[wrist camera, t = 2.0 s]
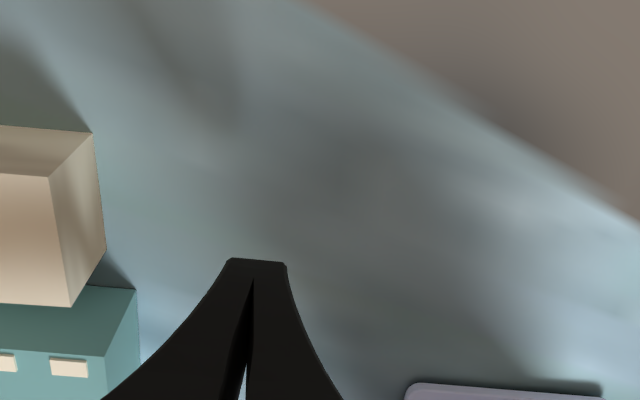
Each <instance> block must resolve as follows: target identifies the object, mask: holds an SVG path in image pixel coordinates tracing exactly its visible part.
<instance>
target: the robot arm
mask: <svg viewBox="0 0 640 400" xmlns="http://www.w3.org/2000/svg"><path fill="white" fill-rule="evenodd" d="M246 364H247V371H246V400H343V398H342V397H341V395H340V393H339V392H338V390H337V389H336V387H335V386H334V384H333V382H332V381H331V379H330V377H329V376H328V374H327V372H326V371H325V369H324V367H323V365H322V363H321V362H320V360H319V358H318V356H317V354H316V352H315V350H314V348H313V346H312V344H311V341H310V339H309V337H308V335H307V333H306V330H305V328H304V326H303V323H302V321H301V318H300V315H299V313H298V310H297V308H296V305H295V302H294V299H293V295H292V292H291V288H290V284H289V280H288V274H287V266H286V265H285V264H284V263H283V262H275V261H264V260H254V259H243V258H233V257H232V258H230V259H229V260H227V261H226V263H225V265H224V267H223V269H222V271H221V272H220V274H219V276H218V277H217V279H216V280H215V282H214V283H213V285H212V286H211V288H210V289H209V290H208V292H207V293H206V294H205V296H204V297H203V298H202V300H201V301H200V302H199V304H198V305H197V306H196V307H195V309H194V310H193V311H192V312H191V314H190V315H189V316H188V317H187V318H186V320H185V321H184V322H183V323H182V324H181V325H180V326H179V327H178V329H177V330H176V331H175V332H174V333H173V334H172V335H171V336H170V338H169V339H168V340H167V341H166V342H165V343H164V344H163V345H162V346H161V347H160V348H159V349H158V350H157V351H156V352H155V353H154V354H153V355H152V356H151V357H150V358H149V359H147V360H146V361H145V362H144V363H143V364H142V365H141V366H140V367H139V368H138V369H137V370H135V371H134V372H133V373H132V374H131V375H130V376H128V377H127V378H126V379H125V380H124V381H122V382H121V383H120V384H119V385H118V386H117V387H115V388H114V389H113V390H112V391H110V392H109V393H108V394H107V395H105V396H104V397H103V398H101V399H100V400H238V397H239V393H240V389H241V385H242V381H243V376H244V372H245V368H246ZM404 400H605V399H604V398H600V397H590V396H578V395H565V394H553V393H541V392H529V391H517V390H505V389H492V388H480V387H468V386H456V385H444V384H432V383H416V384H413V385H411V386H410V387H409V388H408V389H407V391H406V394H405V398H404Z"/></svg>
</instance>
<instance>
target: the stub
mask: <svg viewBox="0 0 640 400" xmlns="http://www.w3.org/2000/svg"><path fill="white" fill-rule="evenodd" d="M106 250H107V246H106V238H105V230H104V222H103V214H102V206H101V198H100V189H99V181H98V173H97V165H96V157H95V149H94V141H93V133H86V132H75V131H63V130H52V129H40V128H29V127H17V126H6V125H0V303H11V304H26V305H41V306H56V307H72V305H73V303H74V302H75V300H76V298H77V297H78V295H79V294H80V292H81V290H82V289H83V287H84V285H85V284H86V282H87V281H88V279H89V277H90V276H91V274H92V272H93V271H94V269H95V268H96V266H97V264H98V263H99V261H100V259H101V258H102V256H103V255H104V253H105V251H106Z"/></svg>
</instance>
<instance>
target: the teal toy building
mask: <svg viewBox="0 0 640 400" xmlns="http://www.w3.org/2000/svg"><path fill="white" fill-rule="evenodd" d="M139 367H140V349H139V332H138V314H137V297H136V290H133V289H122V288H111V287H100V286H89V285H84V287H83V289H82V290H81V292H80V294H79V295H78V297H77V298H76V300H75V302H74V303H73V305H72V307H56V306H41V305H26V304H11V303H0V400H100V399H101V398H103V397H104V396H105V395H107V394H108V393H109V392H110V391H112V390H113V389H114V388H115V387H117V386H118V385H119V384H120V383H121V382H122V381H124V380H125V379H126V378H127V377H128V376H130V375H131V374H132V373H133V372H134V371H135V370H137V369H138V368H139Z"/></svg>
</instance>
